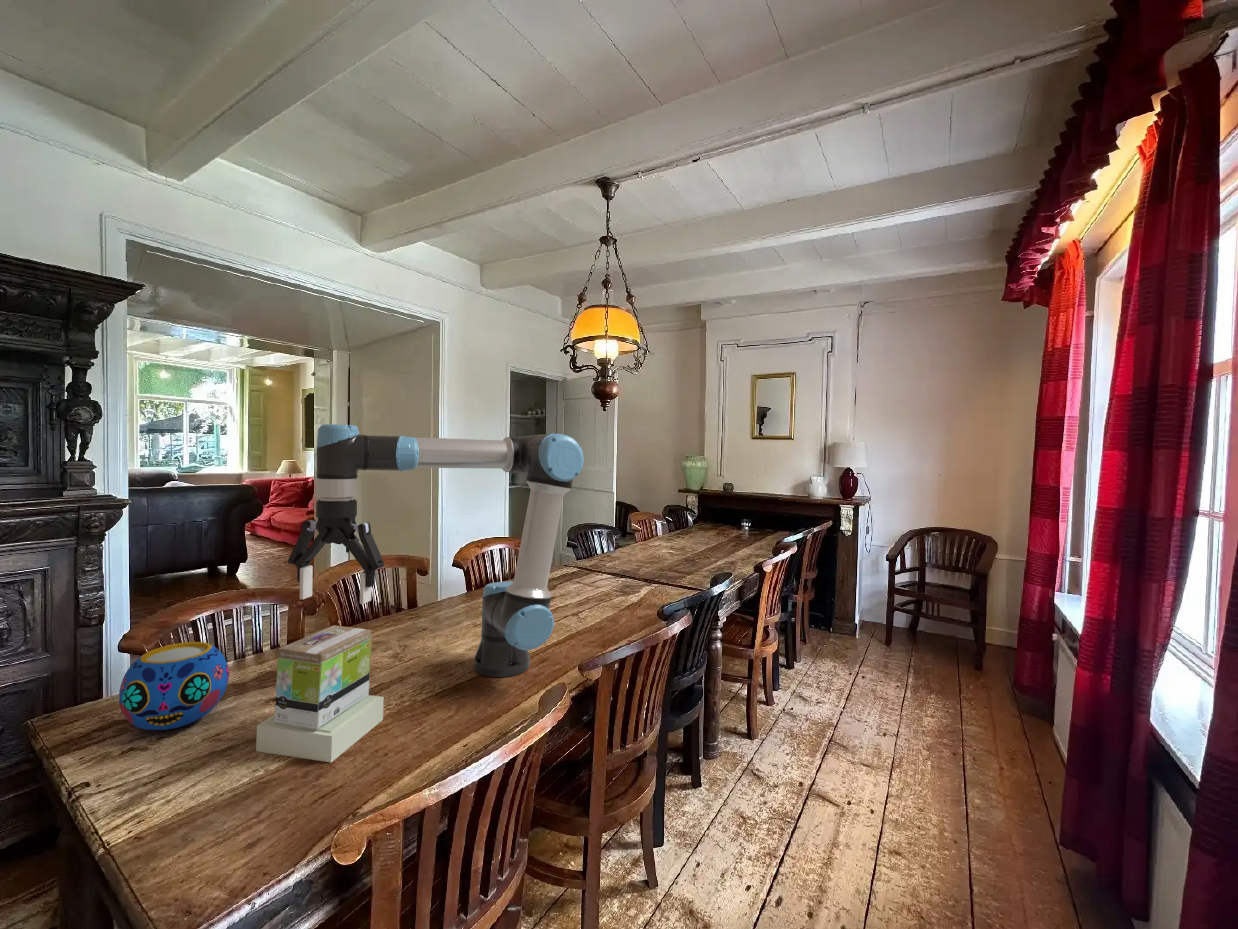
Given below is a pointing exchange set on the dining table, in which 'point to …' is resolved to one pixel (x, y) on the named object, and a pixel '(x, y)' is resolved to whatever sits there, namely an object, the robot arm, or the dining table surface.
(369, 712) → the block
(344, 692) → the tea box
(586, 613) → the dining table surface
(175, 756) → the dining table surface
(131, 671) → the ceramic pot
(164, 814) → the dining table surface
